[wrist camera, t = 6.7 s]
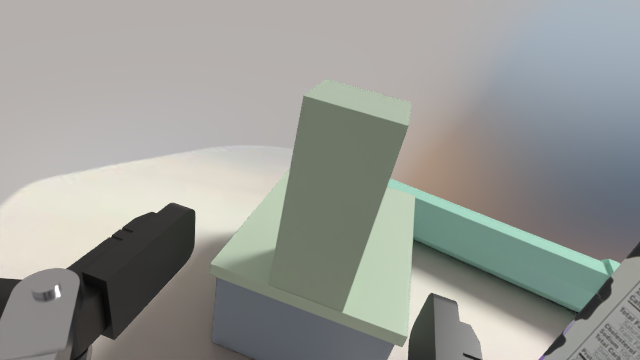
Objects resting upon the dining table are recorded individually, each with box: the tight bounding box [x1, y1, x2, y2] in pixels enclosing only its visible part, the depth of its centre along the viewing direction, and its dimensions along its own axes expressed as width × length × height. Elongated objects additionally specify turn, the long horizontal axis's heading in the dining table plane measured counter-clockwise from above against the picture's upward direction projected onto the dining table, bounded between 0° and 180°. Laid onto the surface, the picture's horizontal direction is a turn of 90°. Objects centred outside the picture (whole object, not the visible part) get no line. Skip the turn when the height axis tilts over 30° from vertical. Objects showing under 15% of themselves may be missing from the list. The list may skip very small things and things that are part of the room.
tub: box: [212, 278, 395, 360], centre depth 26 cm, size 10×14×6 cm
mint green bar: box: [387, 179, 620, 313], centre depth 34 cm, size 6×6×25 cm
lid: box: [209, 79, 415, 347], centre depth 22 cm, size 11×15×11 cm
